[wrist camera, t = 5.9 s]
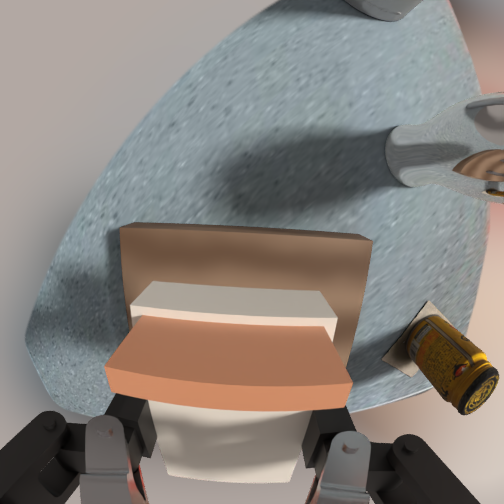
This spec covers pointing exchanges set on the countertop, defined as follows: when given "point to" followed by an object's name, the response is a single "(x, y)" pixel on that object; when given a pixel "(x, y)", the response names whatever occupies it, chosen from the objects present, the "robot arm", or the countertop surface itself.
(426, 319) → the condiment
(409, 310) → the countertop surface
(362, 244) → the dock
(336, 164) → the countertop surface
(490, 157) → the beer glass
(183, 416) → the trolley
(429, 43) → the countertop surface
